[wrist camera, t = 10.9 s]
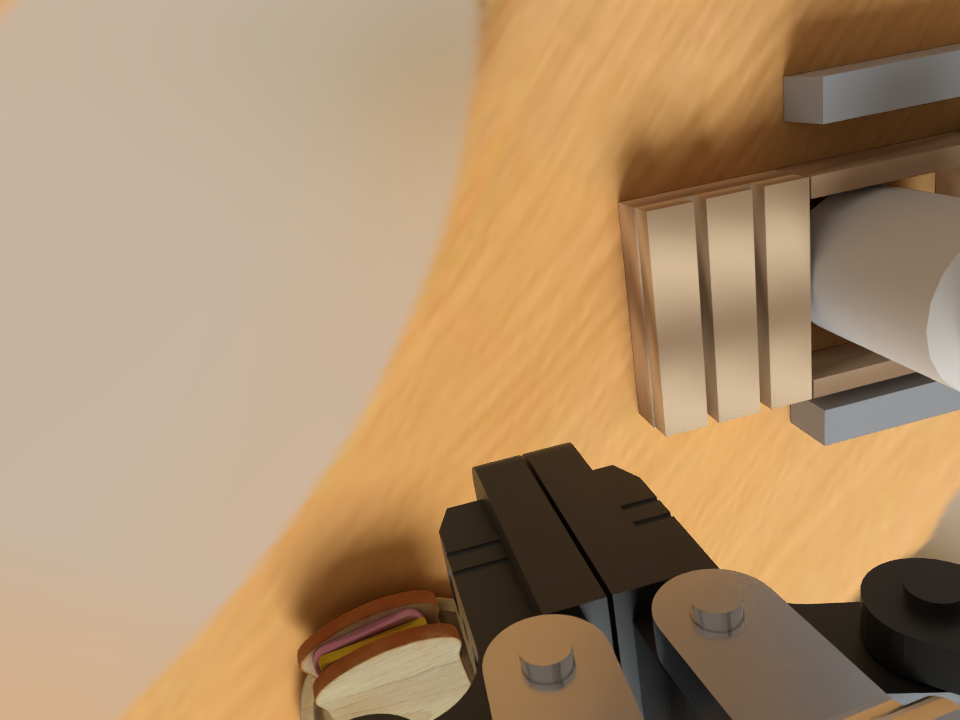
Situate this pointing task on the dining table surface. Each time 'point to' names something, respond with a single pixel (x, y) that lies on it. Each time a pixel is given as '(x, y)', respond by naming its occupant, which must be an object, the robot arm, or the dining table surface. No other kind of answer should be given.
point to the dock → (848, 98)
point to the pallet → (748, 287)
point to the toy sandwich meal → (387, 660)
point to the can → (890, 275)
